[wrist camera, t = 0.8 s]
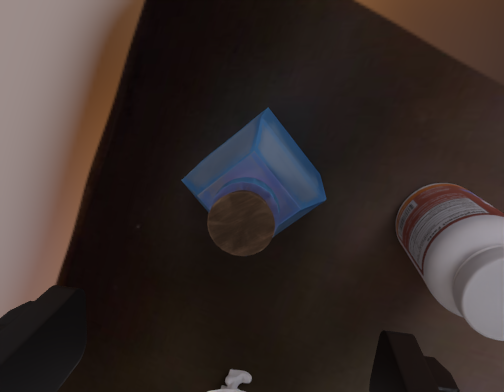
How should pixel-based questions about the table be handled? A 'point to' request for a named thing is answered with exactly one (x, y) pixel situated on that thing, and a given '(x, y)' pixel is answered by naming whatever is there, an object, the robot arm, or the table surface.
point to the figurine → (234, 381)
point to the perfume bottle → (255, 186)
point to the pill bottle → (457, 252)
